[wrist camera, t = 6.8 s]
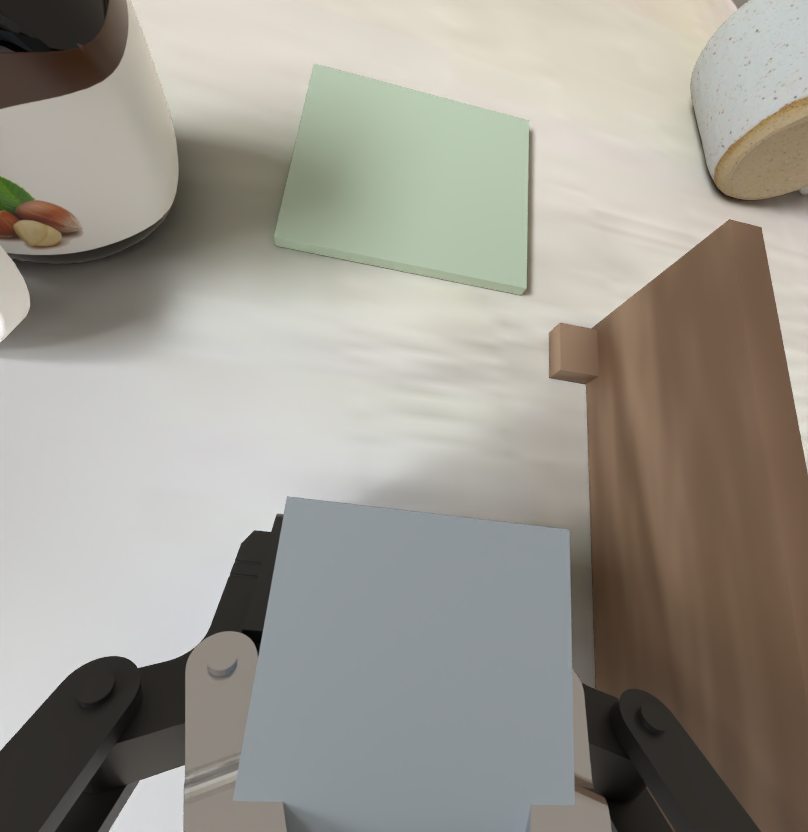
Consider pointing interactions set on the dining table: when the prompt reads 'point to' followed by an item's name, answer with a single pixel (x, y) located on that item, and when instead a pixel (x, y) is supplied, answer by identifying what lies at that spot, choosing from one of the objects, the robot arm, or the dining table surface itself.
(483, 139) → the sage mat
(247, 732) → the slate block
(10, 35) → the spread jar
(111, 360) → the dining table surface
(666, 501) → the walnut screen
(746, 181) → the ceramic mug
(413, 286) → the dining table surface
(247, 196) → the dining table surface
